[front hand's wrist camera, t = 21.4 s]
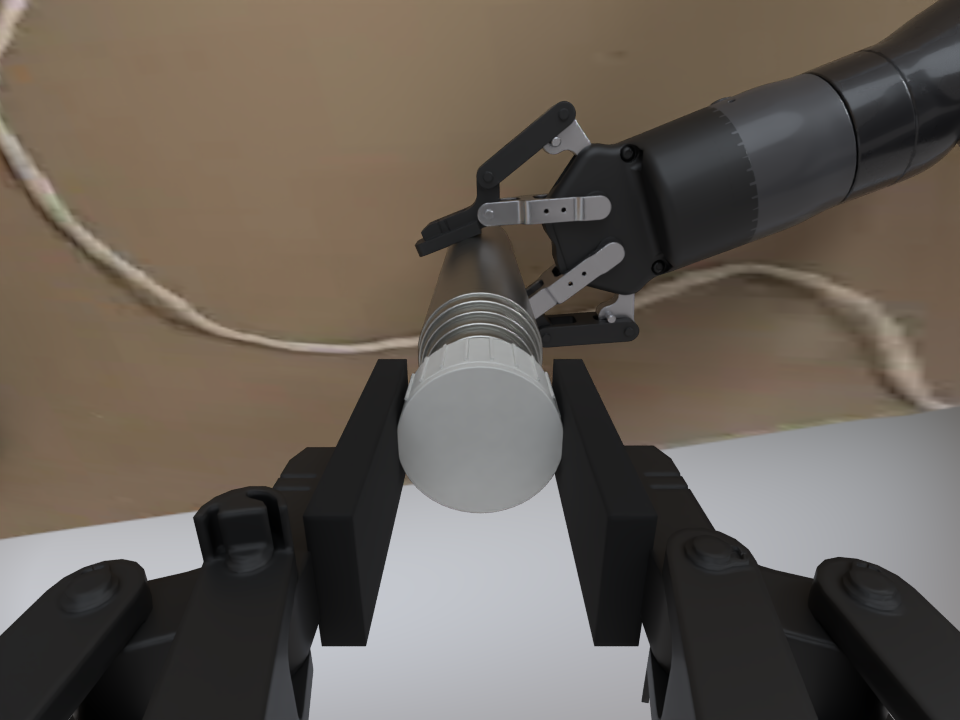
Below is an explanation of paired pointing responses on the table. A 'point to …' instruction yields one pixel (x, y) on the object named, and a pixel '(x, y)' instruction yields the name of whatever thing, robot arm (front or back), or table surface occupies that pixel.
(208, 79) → the table surface
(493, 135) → the table surface
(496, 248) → the bottle
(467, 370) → the cap
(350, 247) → the table surface
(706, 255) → the back robot arm
